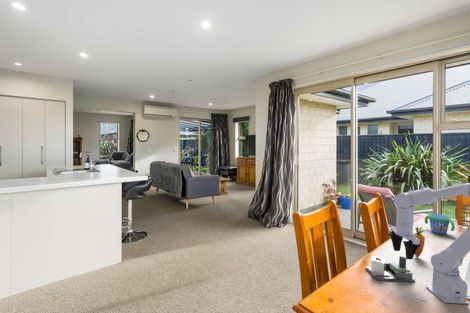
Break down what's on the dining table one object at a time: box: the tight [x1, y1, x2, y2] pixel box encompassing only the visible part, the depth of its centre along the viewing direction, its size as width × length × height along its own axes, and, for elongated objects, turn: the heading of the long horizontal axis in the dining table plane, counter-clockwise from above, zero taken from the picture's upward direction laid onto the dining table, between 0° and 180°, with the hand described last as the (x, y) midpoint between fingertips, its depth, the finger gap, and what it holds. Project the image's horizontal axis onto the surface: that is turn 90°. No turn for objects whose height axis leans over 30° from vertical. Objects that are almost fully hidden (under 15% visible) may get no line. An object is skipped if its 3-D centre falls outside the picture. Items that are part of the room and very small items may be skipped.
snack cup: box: [424, 213, 456, 235], centre depth 154 cm, size 16×10×10 cm
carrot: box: [414, 226, 426, 258], centre depth 119 cm, size 5×5×15 cm
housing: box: [370, 255, 387, 275], centre depth 103 cm, size 4×4×5 cm
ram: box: [389, 255, 411, 272], centre depth 102 cm, size 6×5×6 cm
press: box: [364, 261, 416, 283], centre depth 103 cm, size 9×15×3 cm, turn 87°
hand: (402, 254), depth 102 cm, fingers open, 7 cm apart
